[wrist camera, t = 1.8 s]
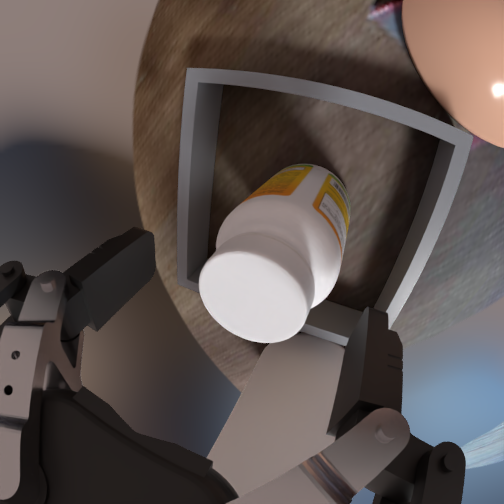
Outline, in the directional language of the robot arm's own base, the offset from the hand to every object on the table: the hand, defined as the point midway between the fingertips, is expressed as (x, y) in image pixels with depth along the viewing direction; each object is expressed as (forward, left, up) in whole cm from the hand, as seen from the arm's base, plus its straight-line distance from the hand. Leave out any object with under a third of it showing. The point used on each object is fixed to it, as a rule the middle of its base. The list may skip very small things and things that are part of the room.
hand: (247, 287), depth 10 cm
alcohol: (-4, +14, -9) cm, 18 cm away
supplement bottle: (0, 0, -10) cm, 10 cm away
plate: (-9, -13, -9) cm, 19 cm away
